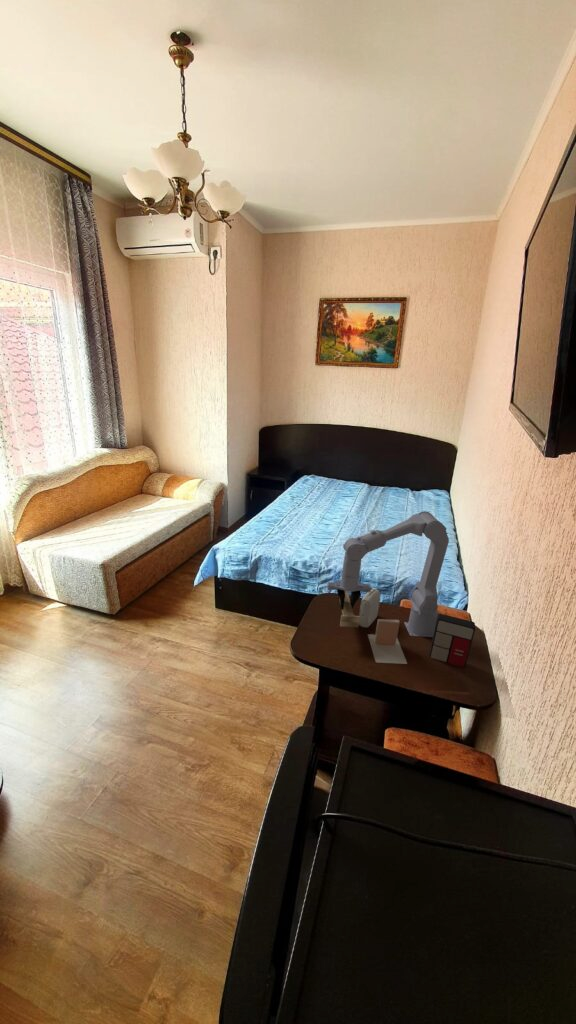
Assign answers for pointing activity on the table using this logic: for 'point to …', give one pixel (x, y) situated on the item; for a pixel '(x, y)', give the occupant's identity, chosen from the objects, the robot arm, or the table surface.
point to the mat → (387, 652)
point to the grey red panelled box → (452, 639)
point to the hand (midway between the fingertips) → (346, 608)
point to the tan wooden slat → (348, 614)
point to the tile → (386, 631)
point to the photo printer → (369, 608)
